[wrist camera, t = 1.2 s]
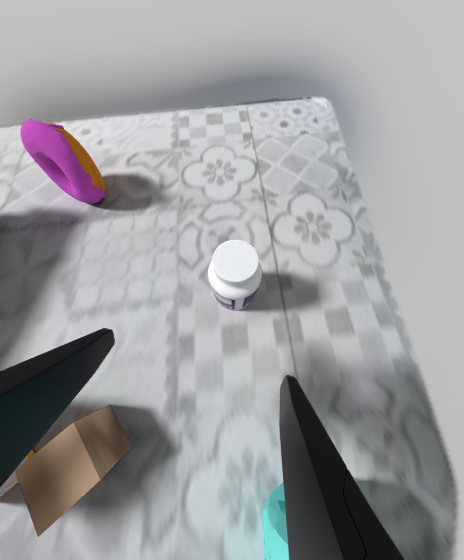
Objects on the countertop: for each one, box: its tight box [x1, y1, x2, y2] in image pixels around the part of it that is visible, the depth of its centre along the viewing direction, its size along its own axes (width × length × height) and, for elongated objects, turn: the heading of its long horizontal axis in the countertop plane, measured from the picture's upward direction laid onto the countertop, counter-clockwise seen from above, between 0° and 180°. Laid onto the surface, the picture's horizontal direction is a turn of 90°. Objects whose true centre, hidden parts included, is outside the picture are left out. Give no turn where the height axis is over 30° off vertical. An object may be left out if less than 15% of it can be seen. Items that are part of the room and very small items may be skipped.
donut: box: [21, 119, 106, 203], centre depth 25 cm, size 8×9×10 cm
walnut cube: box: [15, 405, 132, 537], centre depth 17 cm, size 5×5×5 cm
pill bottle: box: [208, 240, 262, 310], centre depth 20 cm, size 5×5×10 cm
